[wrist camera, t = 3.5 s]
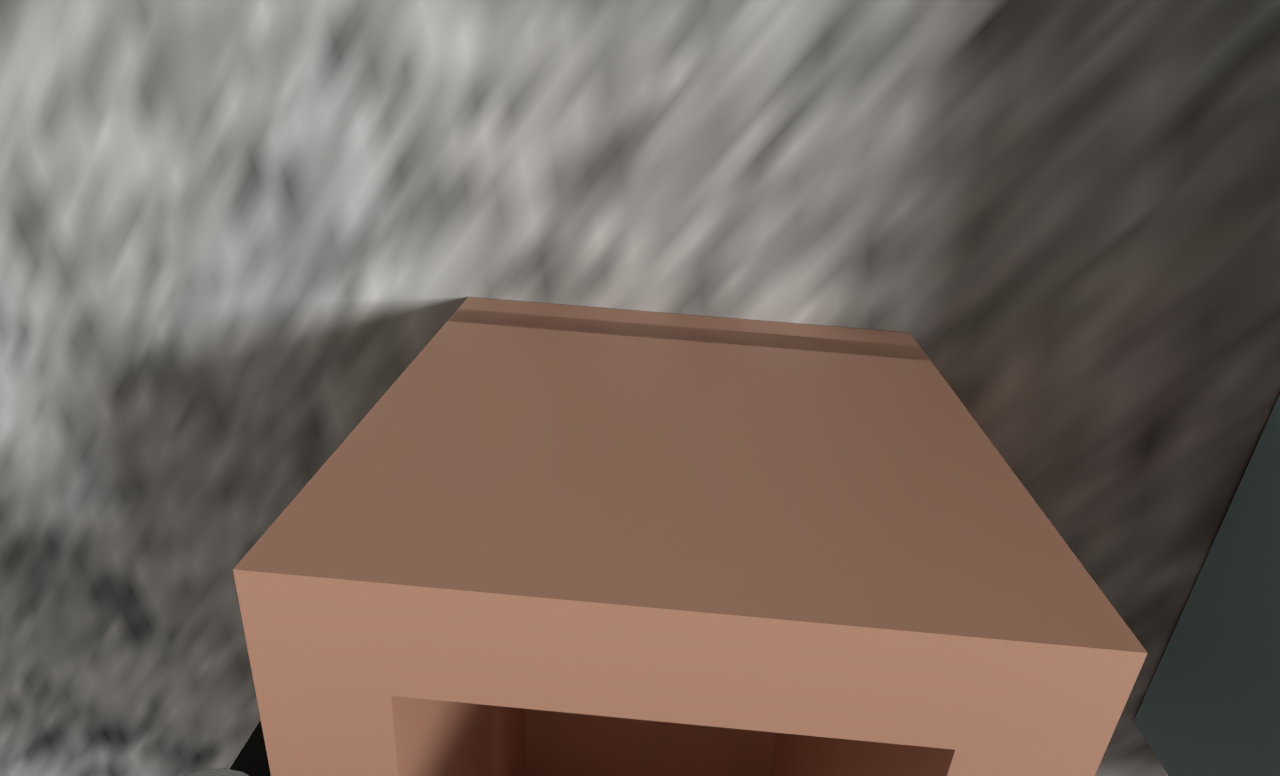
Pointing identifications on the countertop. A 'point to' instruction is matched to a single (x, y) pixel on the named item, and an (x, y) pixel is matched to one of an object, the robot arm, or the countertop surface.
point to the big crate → (1227, 642)
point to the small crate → (674, 567)
